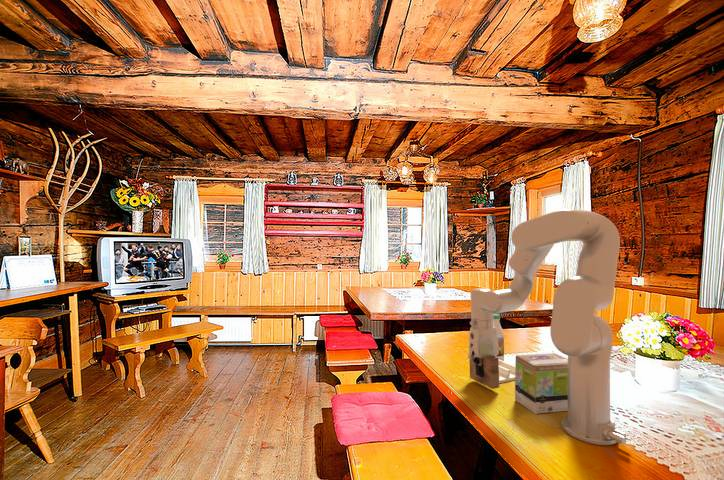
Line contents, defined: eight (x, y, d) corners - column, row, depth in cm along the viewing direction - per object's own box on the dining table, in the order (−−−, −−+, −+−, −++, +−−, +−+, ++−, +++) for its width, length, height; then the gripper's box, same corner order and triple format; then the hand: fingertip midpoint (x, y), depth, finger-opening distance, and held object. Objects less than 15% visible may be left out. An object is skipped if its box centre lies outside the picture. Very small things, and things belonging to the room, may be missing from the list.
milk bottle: (483, 361, 143) (483, 315, 143) (486, 356, 150) (486, 311, 150) (503, 364, 139) (502, 316, 139) (504, 358, 146) (504, 313, 146)
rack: (524, 377, 125) (524, 368, 125) (496, 383, 120) (496, 374, 120) (496, 365, 138) (496, 356, 138) (470, 370, 133) (470, 361, 133)
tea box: (536, 415, 98) (535, 365, 98) (514, 400, 107) (513, 354, 108) (579, 410, 101) (579, 362, 101) (554, 395, 110) (553, 351, 111)
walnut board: (499, 387, 113) (498, 358, 113) (492, 389, 112) (491, 359, 112) (476, 376, 123) (475, 349, 124) (470, 377, 122) (469, 350, 122)
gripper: (471, 327, 112) (473, 382, 111) (507, 323, 118) (509, 375, 117) (457, 323, 119) (458, 375, 118) (491, 319, 125) (493, 368, 124)
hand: (483, 374), depth 118 cm, fingers closed on walnut board, 3 cm apart
